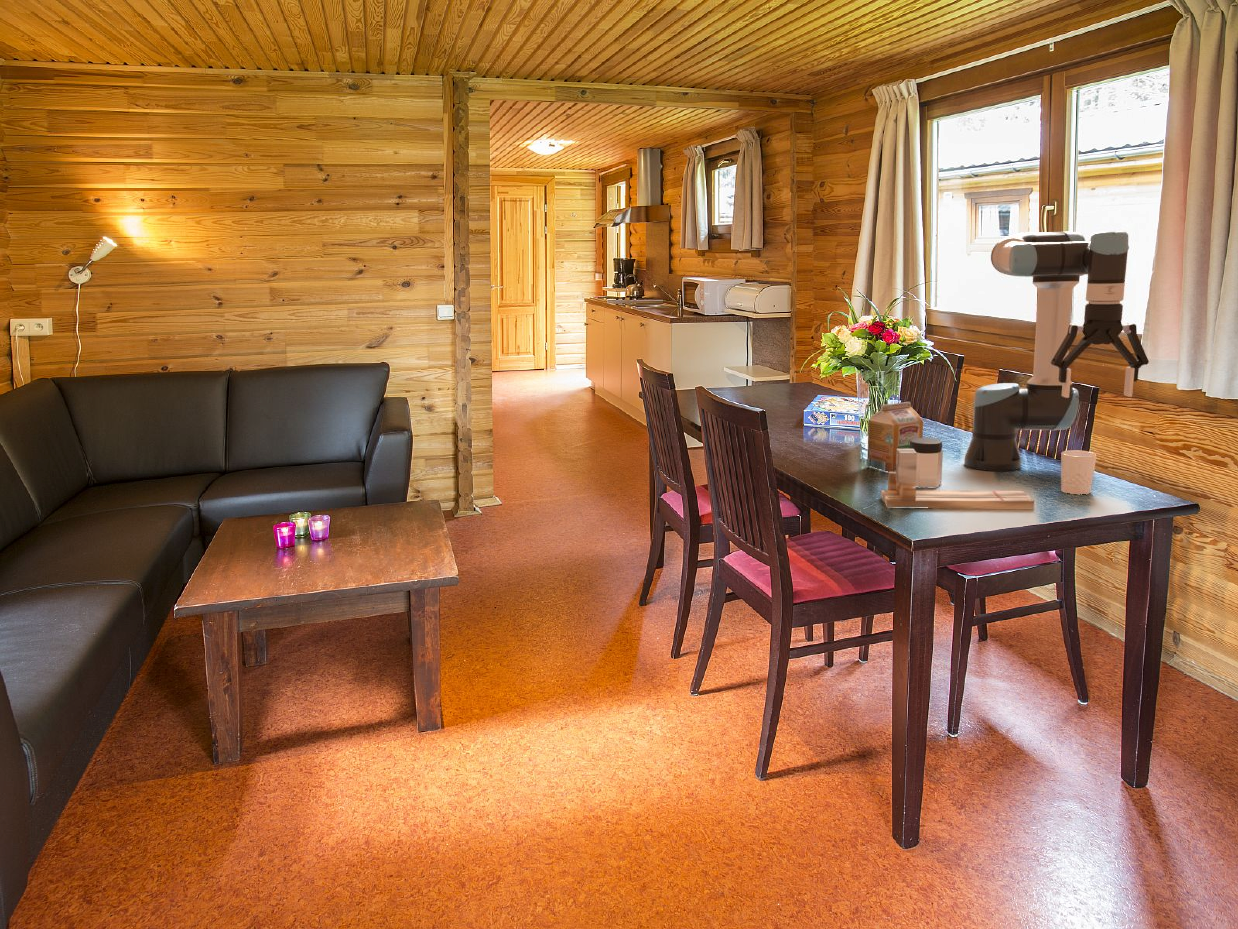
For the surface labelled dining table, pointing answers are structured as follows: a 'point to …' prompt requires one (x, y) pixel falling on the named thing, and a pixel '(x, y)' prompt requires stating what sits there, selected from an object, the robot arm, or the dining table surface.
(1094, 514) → the dining table surface
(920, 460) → the jar
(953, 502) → the board
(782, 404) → the dining table surface
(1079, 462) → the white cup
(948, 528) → the dining table surface
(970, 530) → the dining table surface
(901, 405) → the milk carton
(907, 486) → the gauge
